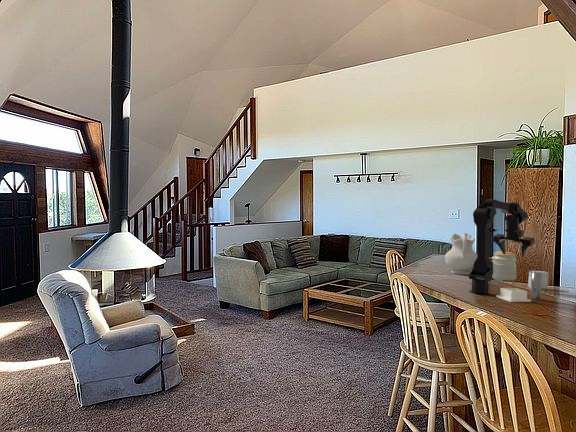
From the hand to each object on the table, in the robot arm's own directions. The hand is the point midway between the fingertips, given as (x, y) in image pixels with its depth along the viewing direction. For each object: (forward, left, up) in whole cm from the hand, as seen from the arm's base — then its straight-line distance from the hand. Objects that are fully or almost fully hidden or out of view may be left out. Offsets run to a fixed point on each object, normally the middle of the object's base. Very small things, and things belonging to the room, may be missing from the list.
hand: (513, 255), depth 227 cm
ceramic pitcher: (-3, +43, -16) cm, 46 cm away
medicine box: (+12, -3, -16) cm, 21 cm away
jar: (+12, +25, -16) cm, 32 cm away
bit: (-9, -28, -16) cm, 34 cm away
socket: (-20, -28, -16) cm, 38 cm away
